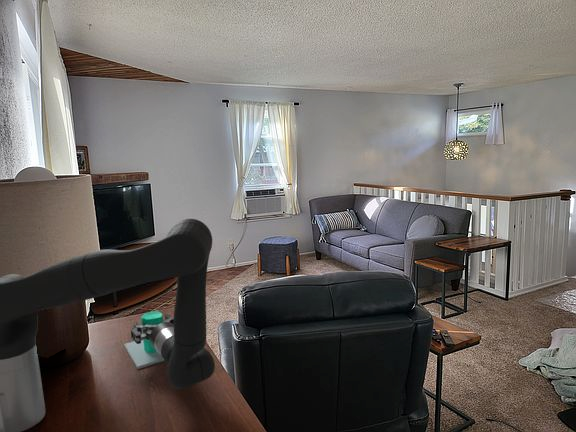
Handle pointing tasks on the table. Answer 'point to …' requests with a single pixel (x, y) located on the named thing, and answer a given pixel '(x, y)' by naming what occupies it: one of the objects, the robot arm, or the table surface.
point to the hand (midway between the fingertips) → (151, 320)
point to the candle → (151, 319)
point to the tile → (142, 355)
